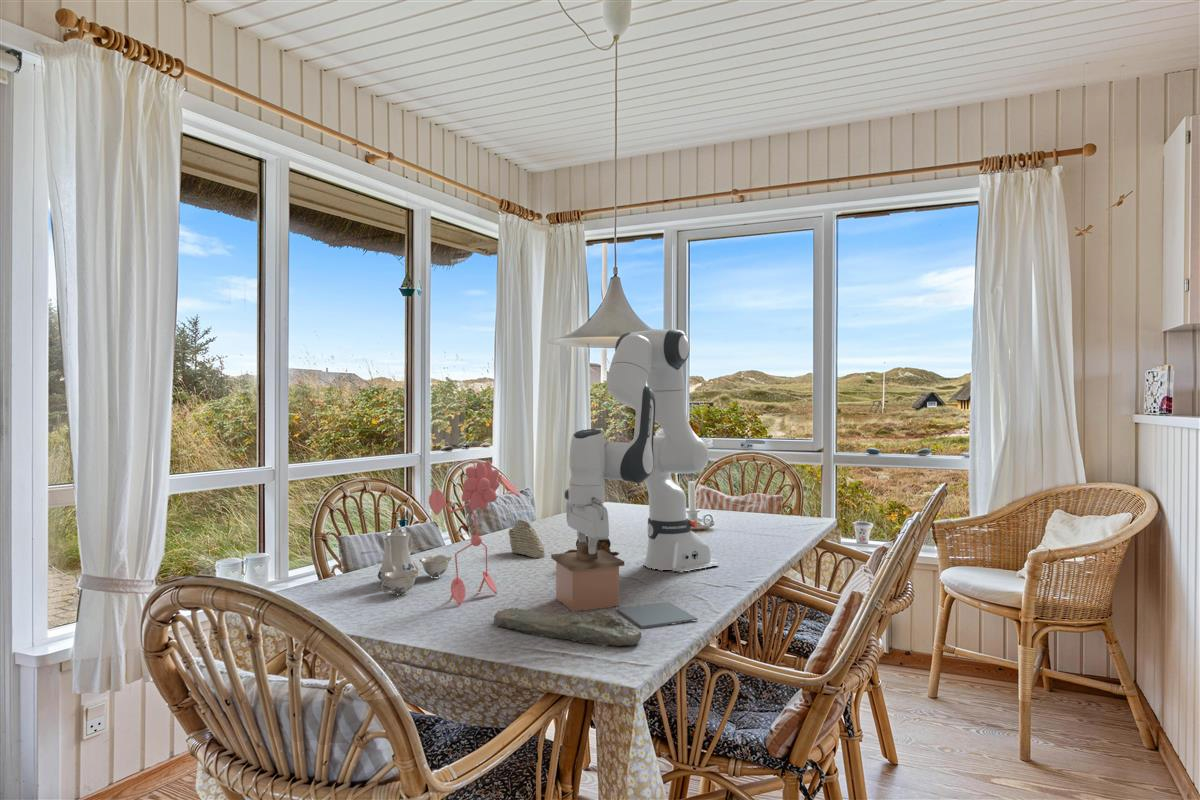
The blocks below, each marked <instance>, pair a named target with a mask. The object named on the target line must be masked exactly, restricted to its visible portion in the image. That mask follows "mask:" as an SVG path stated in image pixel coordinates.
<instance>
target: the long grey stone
mask: <svg viewBox="0 0 1200 800" xmlns="http://www.w3.org/2000/svg"><path fill="white" fill-rule="evenodd" d="M493 619H494V621H493V624H494V626H495V625H498V626H500V627H502V628H506V629H508V628H509V629H511V630H515V631H518V630H519V631H518V632H522V631H523V633H525V632H526V633H525V634H528V633H530V634H532V633H534V635H536V634H538V635H537V636H540V635H543V636H542V637H546V636H548V637H547V638H550V637H551V639H560V638H564V639H563V640H571V641H573V642H575V641H580V642H579V643H581V642H587V643H586V644H588V643H589V644H592V645H593V644H594V645H597V644H600V645H599V646H602V645H605V646H604V647H609V646H610V645H611V646H618V647H621V646H635V645H636V644H637V643H639V642H641V639H642V631H640V629H639V628H638V627H635V625H634V624H631V622H630V621H627V620H626V619H624V618H622V617H616V616H614V614H612V613H611V614H610V613H609V612H608V611H607V609H600V610H595V611H593V612H591V611H589V612H588V613H581V614H577V615H564V614H562V613H561V614H560V613H559V614H557V613H552V612H543V611H535V610H529V609H528V610H526V609H522V608H518V607H515V608H514V607H513V608H512V607H510V608H505V609H502V610H497V612H496V613H495V614H494V616H493ZM498 626H497V627H498ZM608 645H609V646H608Z"/></svg>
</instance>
